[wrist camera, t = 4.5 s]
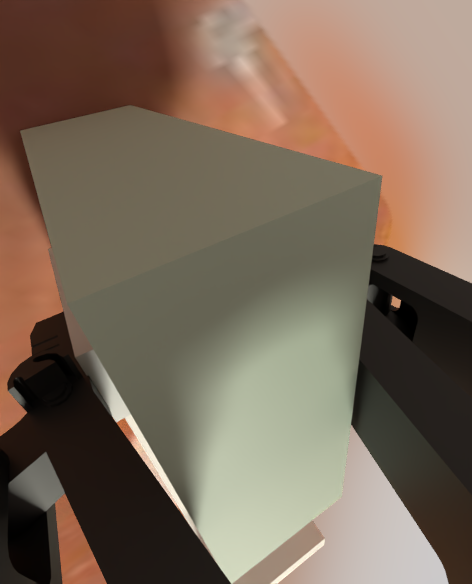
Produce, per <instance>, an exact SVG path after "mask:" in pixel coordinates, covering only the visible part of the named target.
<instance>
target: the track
mask: <svg viewBox="0 0 472 584" xmlns="http://www.w3.org/2000/svg"><path fill="white" fill-rule="evenodd" d="M125 419H126V421H127V422H128V424H129V426H130V427H131V429H132V430H133V432H134V434H135V435H136V437H137V439H138V440H139V442H140V444H141V445H142V447H143V449H144V450H145V452H146V454H147V455H148V457H149V459H150V460H151V462H152V464H153V465H154V467H155V469H156V470H157V472H158V474H159V475H160V477H161V479H162V480H163V482H164V484H165V485H166V487H167V489H168V490H169V492H170V493H171V495H172V497H173V498H174V500H175V502H176V503H177V505H178V507H179V508H180V510H181V512H182V513H183V515H184V517H185V518H186V520H187V522H188V523H189V525H190V527H191V528H192V529H193V531H194V532H195V534H196V535H197V536H198V538H199V539H200V541H201V542H202V543H203V545H204V546H205V548H206V549H207V550H208V552H209V553H210V555H211V556H212V557H213V555H212V554H211V552H210V550H209V548H208V547H207V545H206V543H205V542H204V540H203V538H202V536H201V535H200V533H199V531H198V529H197V528H196V526H195V524H194V523H193V521H192V519H191V517H190V516H189V514H188V512H187V510H186V509H185V507H184V505H183V503H182V502H181V500H180V498H179V497H178V495H177V493H176V491H175V490H174V488H173V486H172V484H171V483H170V481H169V479H168V478H167V476H166V474H165V472H164V471H163V469H162V467H161V465H160V464H159V462H158V460H157V459H156V457H155V455H154V453H153V452H152V450H151V448H150V446H149V445H148V443H147V441H146V440H145V438H144V436H143V434H142V433H141V431H140V429H139V427H138V426H137V424H136V422H135V420H134V419H133V417H132V415H129V416H127V417H125ZM324 542H325V538H324V537H323V535H322V534H321V532H320V531H319V529H318V528H317V527H316V525H315V523H314V522H313V521H311V522H310V523H308V524H307V525H306V526H305V527H303V528H302V529H301V530H299V531H298V532H297V533H296V534H294V535H293V536H292V537H291V538H289V539H288V540H287V541H286V542H284V543H283V544H282V545H280V546H279V547H278V548H277V549H275V550H274V551H273V552H272V553H270V554H269V555H268V556H267V557H265V558H264V559H263V560H262V561H260V562H259V563H258V564H256V565H255V566H254V567H253V568H251V569H250V570H249V571H248V572H246V573H245V574H244V575H243V576H241V577H240V578H239V579H238V580H236V581H235V582H234V583H232V584H278V582H280V581H281V580H282V579H284V578H285V577H286V576H287V575H288V574H289V573H291V572H292V571H293V570H294V569H296V568H297V567H298V566H299V565H300V564H301V563H303V562H304V561H305V560H306V559H308V558H309V557H310V556H311V555H312V554H313V553H315V552H316V551H317V550H318V549H320V548H321V547H322V546H323V545H324ZM213 559H214V557H213ZM214 560H215V559H214ZM215 562H216V561H215ZM216 563H217V562H216Z"/></svg>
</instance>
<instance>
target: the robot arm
mask: <svg viewBox="0 0 472 584" xmlns="http://www.w3.org/2000/svg"><path fill="white" fill-rule="evenodd" d="M48 251H49V255H50V259H51V263H52V267H53V271H54V275H55V279H56V283H57V287H58V291H59V295H60V299H61V303H62V307H63V311H64V312H62V313H59V314H57V315H54V316H52V317H50V318H47V319H45V320H42V321H40V322H37V323H36V325H35V327H34V329H33V331H32V333H31V335H30V339H31V347H32V356H31V357H29V358H28V359H27V360H25V361H24V362H22V363H21V364H20V365H19V366H18V367H17V368H16V369H15V370H14V371H13V372H12V374H11V376H10V378H9V380H8V382H7V385H8V391H9V393H10V394H11V395H12V396H13V397H14V398H15V399H16V400H17V401H18V403H19V404H20V405H21V406H22V407H23V408H24V409H25V410H26V411H27V414H26V415H25V416H24V417H23V418H22V419H21V420H20V421H19V422H18V423H17V424H16V425H15V426H13V427H12V428H11V429H10V430H8V431H7V432H6V433H4V434H3V435H2V436H0V584H62V574H61V563H60V553H59V542H58V531H57V521H56V510H55V502H56V501H57V500H58V499H59V498H60V497H61V496H62V495H64V494H66V496H67V498H68V501H69V503H70V505H71V507H72V509H73V511H74V513H75V516H76V518H77V520H78V522H79V524H80V526H81V529H82V531H83V533H84V535H85V537H86V539H87V542H88V544H89V546H90V548H91V550H92V552H93V554H94V557H95V559H96V561H97V563H98V565H99V567H100V570H101V572H102V574H103V576H104V578H105V580H106V582H107V584H231V582H230V581H229V580H228V578H227V577H226V576H225V574H224V573H223V571H222V570H221V569H220V567H219V566H218V564H217V563H216V562H215V560H214V559H213V557H212V556H211V555H210V553H209V552H208V550H207V549H206V548H205V546H204V545H203V543H202V542H201V541H200V539H199V538H198V536H197V535H196V534H195V532H194V531H193V529H192V528H191V527H190V525H189V524H188V522H187V521H186V520H185V518H184V517H183V515H182V514H181V513H180V511H179V510H178V508H177V507H176V506H175V504H174V503H173V502H172V500H171V499H170V497H169V496H168V495H167V493H166V492H165V490H164V489H163V488H162V486H161V485H160V483H159V482H158V481H157V479H156V478H155V476H154V475H153V474H152V472H151V471H150V469H149V468H148V467H147V465H146V464H145V462H144V461H143V460H142V458H141V457H140V455H139V454H138V453H137V451H136V450H135V448H134V447H133V446H132V444H131V443H130V441H129V440H128V439H127V437H126V436H125V434H124V433H123V432H122V430H121V429H120V428H119V426H118V425H117V423H116V422H118V421H120V420H121V419H123V418H125V417H127V416H129V415H131V414H130V412H129V410H128V408H127V407H126V405H125V403H124V401H123V400H122V398H121V396H120V395H119V393H118V391H117V389H116V388H115V386H114V384H113V382H112V381H111V379H110V377H109V376H108V374H107V372H106V370H105V369H104V367H103V365H102V363H101V362H100V360H99V358H98V356H97V355H96V353H95V351H94V350H93V348H92V346H91V344H90V343H89V341H88V339H87V337H86V336H85V334H84V332H83V331H82V329H81V327H80V325H79V324H78V322H77V320H76V318H75V317H74V315H73V313H72V312H71V310H70V308H69V306H68V305H67V302H66V298H65V295H64V291H63V287H62V283H61V280H60V276H59V272H58V269H57V265H56V261H55V258H54V254H53V250H52V248H49V249H48ZM392 296H394V297H396V298H398V299H400V300H401V304H400V308H396V307H394V306H392V305H391V302H392ZM112 416H113V417H112ZM113 418H114V419H115V421H116V422H115V421H114V419H113ZM351 425H352V426H353V428H354V429H355V431H356V432H357V434H358V435H359V437H360V438H361V440H362V441H363V443H364V444H365V446H366V447H367V449H368V451H369V452H370V454H371V455H372V457H373V458H374V460H375V461H376V462H377V464H378V466H379V467H380V469H381V470H382V472H383V473H384V475H385V476H386V478H387V479H388V481H389V482H390V484H391V485H392V487H393V488H394V490H395V492H396V493H397V495H398V496H399V498H400V499H401V501H402V502H403V504H404V505H405V507H406V508H407V510H408V511H409V513H410V514H411V516H412V517H413V519H414V520H415V522H416V523H417V525H418V526H419V528H420V529H421V531H422V533H423V534H424V535H425V537H426V539H427V540H428V542H429V543H430V545H431V546H432V548H433V549H434V551H435V552H436V554H437V555H438V557H439V559H440V560H441V562H442V564H443V566H444V569H445V571H446V575H447V578H448V582H449V584H472V283H469V282H467V281H465V280H463V279H460V278H458V277H456V276H454V275H451V274H449V273H447V272H445V271H442V270H440V269H438V268H436V267H433V266H431V265H429V264H426V263H424V262H422V261H420V260H418V259H415V258H413V257H411V256H408V255H406V254H404V253H402V252H400V251H397V250H395V249H393V248H390V247H387V246H384V245H377V244H374V246H373V254H372V262H371V269H370V277H369V285H368V293H367V301H366V309H365V317H364V325H363V333H362V341H361V349H360V357H359V365H358V373H357V380H356V388H355V396H354V404H353V412H352V420H351Z"/></svg>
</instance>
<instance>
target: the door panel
mask: <svg viewBox="0 0 472 584" xmlns="http://www.w3.org/2000/svg"><path fill="white" fill-rule="evenodd" d="M20 133H21V136H22V140H23V144H24V147H25V151H26V155H27V158H28V162H29V166H30V169H31V173H32V177H33V180H34V184H35V188H36V191H37V195H38V199H39V203H40V206H41V210H42V214H43V217H44V221H45V225H46V228H47V232H48V236H49V239H50V243H51V247H52V250H53V254H54V258H55V261H56V265H57V269H58V272H59V276H60V280H61V283H62V287H63V291H64V295H65V298H66V302H67V305H68V306H69V308H70V310H71V312H72V313H73V315H74V317H75V318H76V320H77V322H78V324H79V325H80V327H81V329H82V331H83V332H84V334H85V336H86V337H87V339H88V341H89V343H90V344H91V346H92V348H93V350H94V351H95V353H96V355H97V356H98V358H99V360H100V362H101V363H102V365H103V367H104V369H105V370H106V372H107V374H108V376H109V377H110V379H111V381H112V382H113V384H114V386H115V388H116V389H117V391H118V393H119V395H120V396H121V398H122V400H123V401H124V403H125V405H126V407H127V408H128V410H129V412H130V414H131V415H132V417H133V419H134V420H135V422H136V424H137V426H138V427H139V429H140V431H141V433H142V434H143V436H144V438H145V440H146V441H147V443H148V445H149V446H150V448H151V450H152V452H153V453H154V455H155V457H156V459H157V460H158V462H159V464H160V465H161V467H162V469H163V471H164V472H165V474H166V476H167V478H168V479H169V481H170V483H171V484H172V486H173V488H174V490H175V491H176V493H177V495H178V497H179V498H180V500H181V502H182V503H183V505H184V507H185V509H186V510H187V512H188V514H189V516H190V517H191V519H192V521H193V523H194V524H195V526H196V528H197V529H198V531H199V533H200V535H201V536H202V538H203V540H204V542H205V543H206V545H207V547H208V548H209V550H210V552H211V554H212V555H213V557H214V559H215V561H216V562H217V564H218V566H219V567H220V569H221V570H222V571H223V573H224V574H225V576H226V577H227V578H228V580H229V581H230V582H231V584H232V583H234V582H235V581H236V580H238V579H239V578H240V577H241V576H243V575H244V574H245V573H246V572H248V571H249V570H250V569H251V568H253V567H254V566H255V565H256V564H258V563H259V562H260V561H262V560H263V559H264V558H265V557H267V556H268V555H269V554H270V553H272V552H273V551H274V550H275V549H277V548H278V547H279V546H280V545H282V544H283V543H284V542H286V541H287V540H288V539H289V538H291V537H292V536H293V535H294V534H296V533H297V532H298V531H299V530H301V529H302V528H303V527H305V526H306V525H307V524H308V523H310V522H311V521H312V520H313V519H315V518H316V517H317V516H318V515H320V514H321V513H322V512H323V511H325V510H326V509H327V508H329V507H330V506H331V505H332V504H334V503H335V502H336V501H337V500H339V499H340V498H341V497H342V491H343V483H344V475H345V468H346V460H347V452H348V443H349V435H350V428H351V420H352V412H353V404H354V396H355V388H356V380H357V373H358V365H359V357H360V349H361V341H362V333H363V325H364V317H365V309H366V301H367V293H368V285H369V277H370V269H371V262H372V254H373V246H374V238H375V230H376V222H377V214H378V206H379V198H380V190H381V182H382V176H381V175H378V174H374V173H371V172H367V171H363V170H360V169H356V168H353V167H349V166H346V165H342V164H339V163H335V162H331V161H328V160H324V159H321V158H317V157H314V156H310V155H307V154H303V153H299V152H296V151H292V150H289V149H285V148H282V147H278V146H275V145H271V144H267V143H264V142H260V141H257V140H253V139H250V138H246V137H243V136H239V135H235V134H232V133H228V132H225V131H221V130H218V129H214V128H210V127H207V126H203V125H200V124H196V123H193V122H189V121H186V120H182V119H178V118H175V117H171V116H168V115H164V114H161V113H157V112H154V111H150V110H146V109H143V108H139V107H136V106H132V105H128V106H123V107H119V108H115V109H111V110H106V111H102V112H98V113H93V114H89V115H85V116H81V117H76V118H72V119H68V120H63V121H59V122H55V123H51V124H46V125H42V126H38V127H33V128H29V129H25V130H21V131H20Z"/></svg>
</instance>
